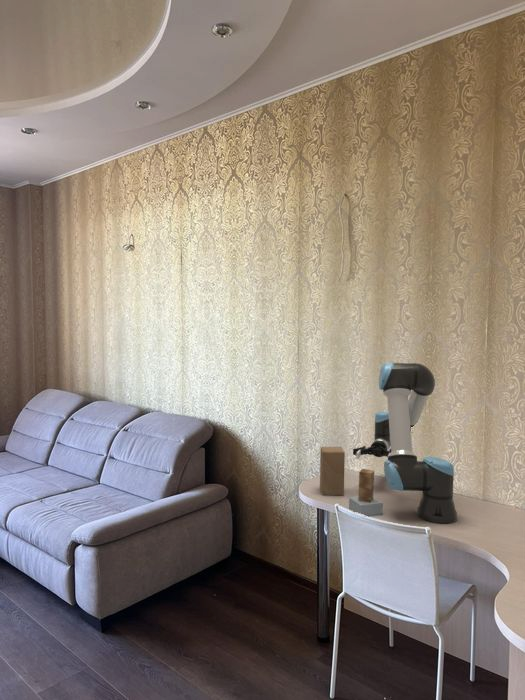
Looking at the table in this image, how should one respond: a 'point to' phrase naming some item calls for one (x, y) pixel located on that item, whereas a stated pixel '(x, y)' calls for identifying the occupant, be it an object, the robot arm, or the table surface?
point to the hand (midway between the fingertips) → (372, 457)
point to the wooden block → (332, 470)
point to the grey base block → (366, 506)
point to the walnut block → (366, 485)
